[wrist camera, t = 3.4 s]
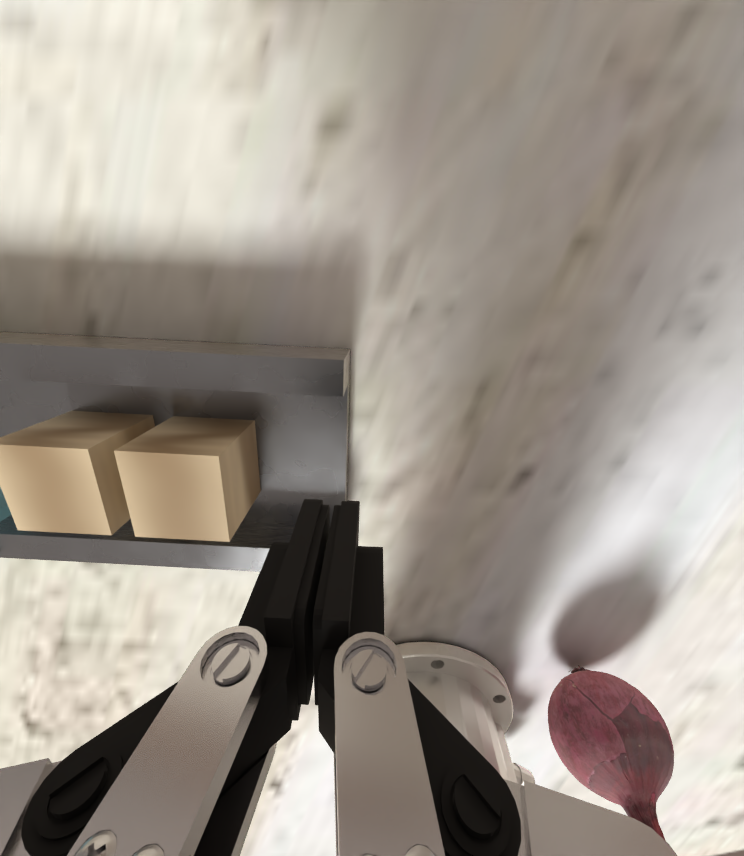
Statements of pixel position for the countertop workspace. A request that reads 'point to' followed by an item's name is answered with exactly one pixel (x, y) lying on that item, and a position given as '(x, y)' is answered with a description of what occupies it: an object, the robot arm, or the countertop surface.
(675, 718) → the countertop surface
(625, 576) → the countertop surface
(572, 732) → the vegetable
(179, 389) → the rail
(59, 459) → the chip
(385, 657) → the robot arm
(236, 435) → the chip
